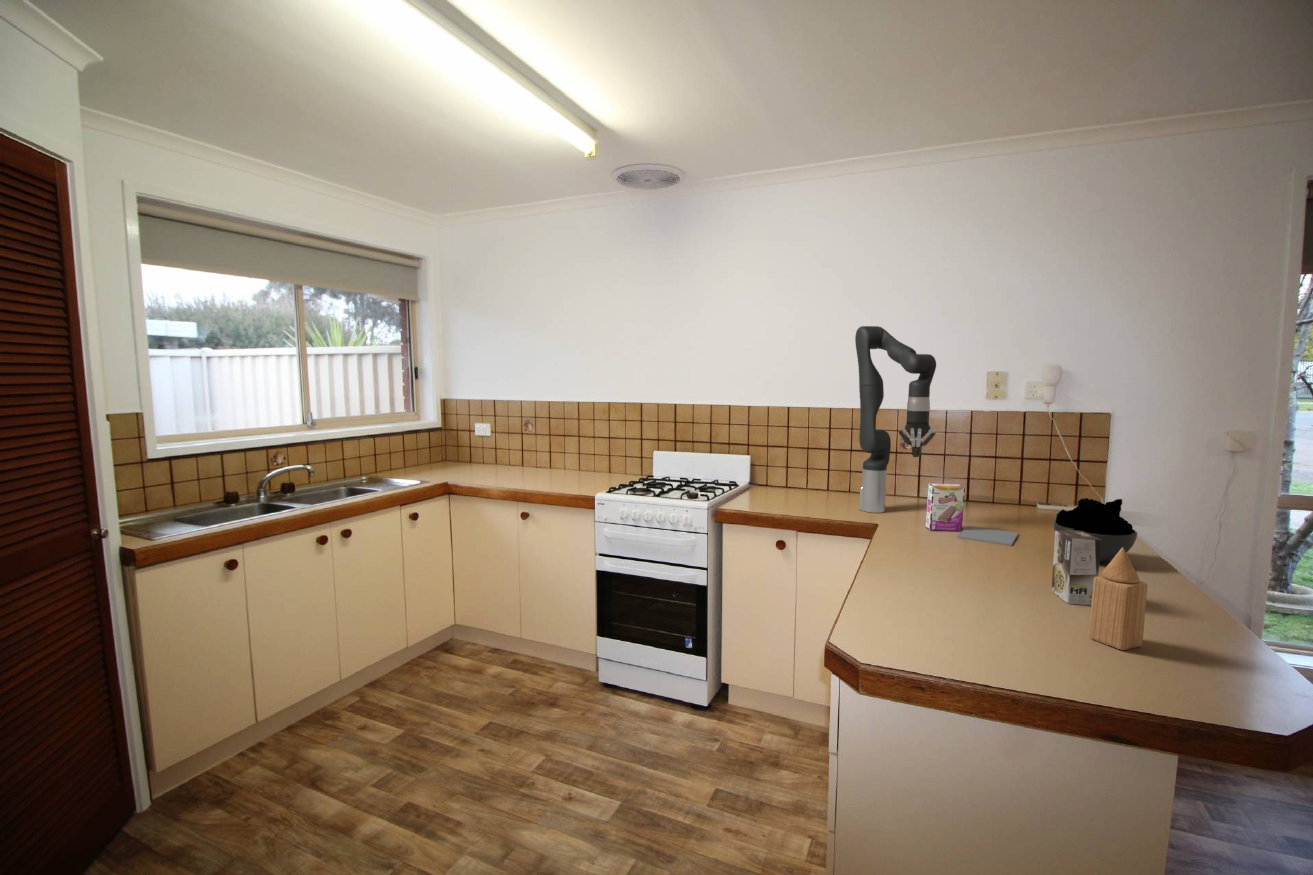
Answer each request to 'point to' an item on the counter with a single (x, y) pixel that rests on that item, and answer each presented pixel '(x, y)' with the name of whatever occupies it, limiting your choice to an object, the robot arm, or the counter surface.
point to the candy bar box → (945, 507)
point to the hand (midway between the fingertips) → (916, 456)
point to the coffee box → (1075, 565)
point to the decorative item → (1118, 605)
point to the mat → (988, 535)
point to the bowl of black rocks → (1099, 525)
